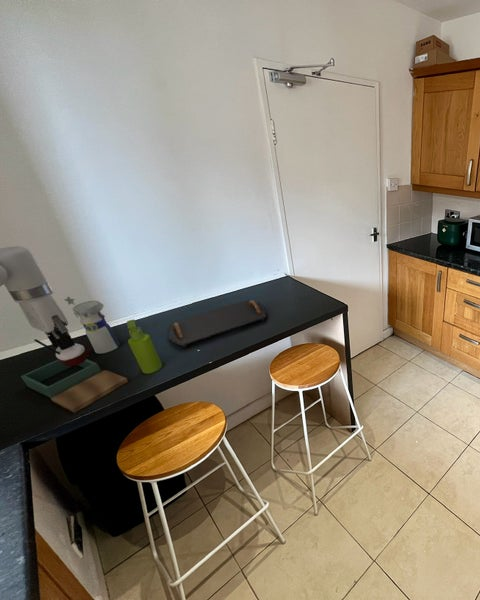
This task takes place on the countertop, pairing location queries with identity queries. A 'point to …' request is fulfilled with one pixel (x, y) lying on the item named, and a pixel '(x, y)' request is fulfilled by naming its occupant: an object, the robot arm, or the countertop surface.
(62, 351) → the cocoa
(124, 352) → the countertop surface
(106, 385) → the cutting board
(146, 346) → the soap dispenser
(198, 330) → the serving tray
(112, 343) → the water bottle
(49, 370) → the crate
